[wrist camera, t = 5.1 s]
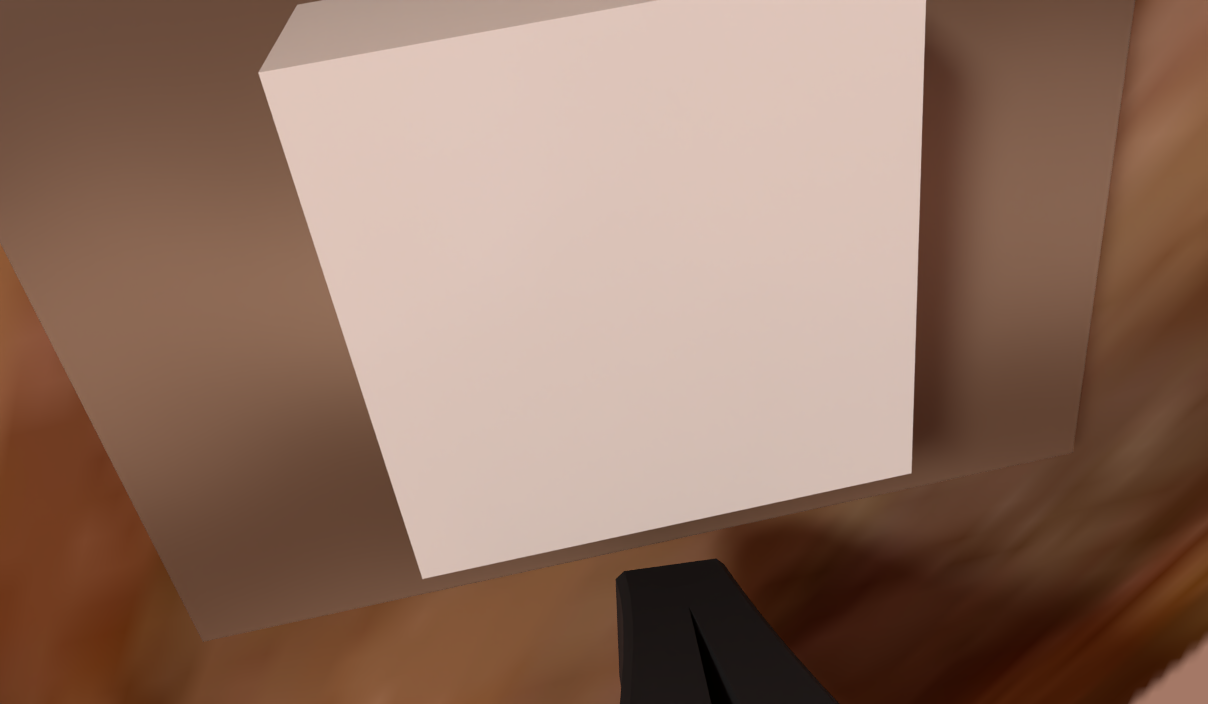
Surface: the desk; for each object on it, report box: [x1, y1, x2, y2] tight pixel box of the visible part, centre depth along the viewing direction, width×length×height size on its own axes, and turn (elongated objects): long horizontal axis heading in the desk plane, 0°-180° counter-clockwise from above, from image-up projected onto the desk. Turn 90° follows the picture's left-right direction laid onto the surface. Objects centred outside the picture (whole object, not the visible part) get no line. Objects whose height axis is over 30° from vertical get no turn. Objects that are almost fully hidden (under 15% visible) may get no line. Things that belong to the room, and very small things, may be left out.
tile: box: [258, 0, 926, 579], centre depth 10 cm, size 5×5×2 cm
